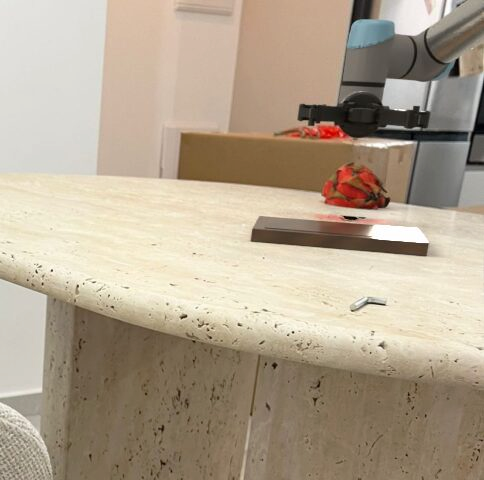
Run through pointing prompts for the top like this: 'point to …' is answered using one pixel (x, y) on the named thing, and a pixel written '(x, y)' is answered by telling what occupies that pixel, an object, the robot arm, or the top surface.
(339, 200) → the dragon fruit
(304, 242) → the cutting board
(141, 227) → the top surface
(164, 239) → the top surface
